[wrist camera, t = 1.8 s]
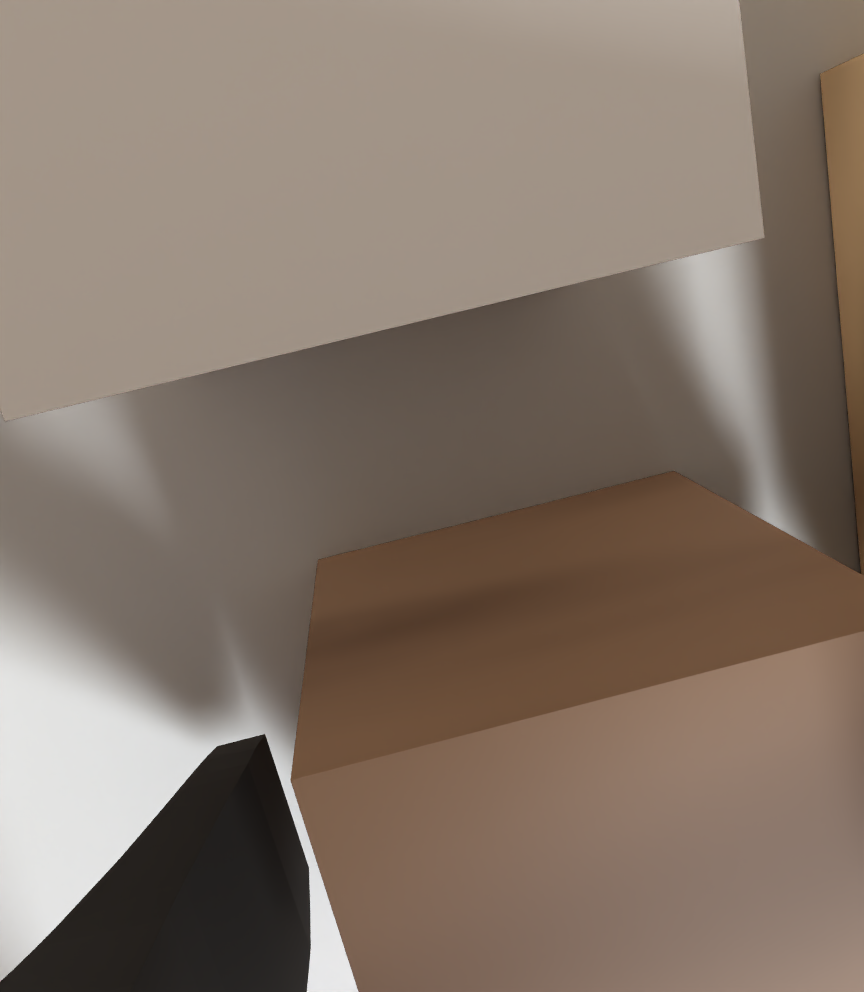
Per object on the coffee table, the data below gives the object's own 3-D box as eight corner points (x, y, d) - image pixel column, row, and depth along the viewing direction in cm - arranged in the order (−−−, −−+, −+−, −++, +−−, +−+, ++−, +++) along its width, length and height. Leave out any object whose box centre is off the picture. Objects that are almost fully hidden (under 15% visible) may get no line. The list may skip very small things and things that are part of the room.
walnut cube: (716, 774, 12) (957, 1093, 7) (403, 857, 12) (439, 1241, 7) (671, 469, 11) (932, 612, 6) (318, 557, 11) (289, 780, 6)
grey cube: (563, 264, 10) (765, 238, 5) (176, 358, 10) (4, 422, 5) (482, -199, 9) (651, -831, 4) (31, -101, 8) (-402, -636, 4)
